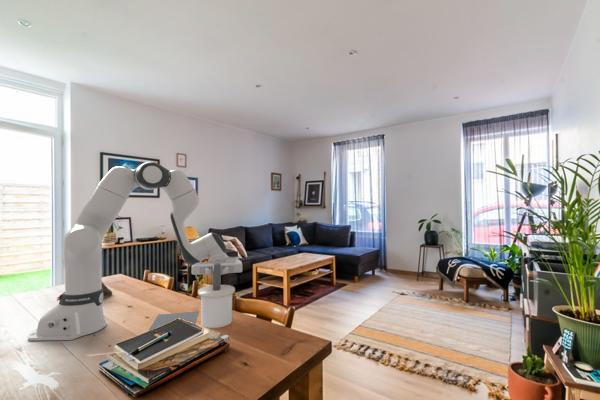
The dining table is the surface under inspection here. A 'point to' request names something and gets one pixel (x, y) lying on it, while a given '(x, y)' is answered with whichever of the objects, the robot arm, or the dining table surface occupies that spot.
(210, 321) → the cup
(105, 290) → the worn brown figurine
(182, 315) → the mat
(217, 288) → the lid
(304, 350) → the dining table surface
